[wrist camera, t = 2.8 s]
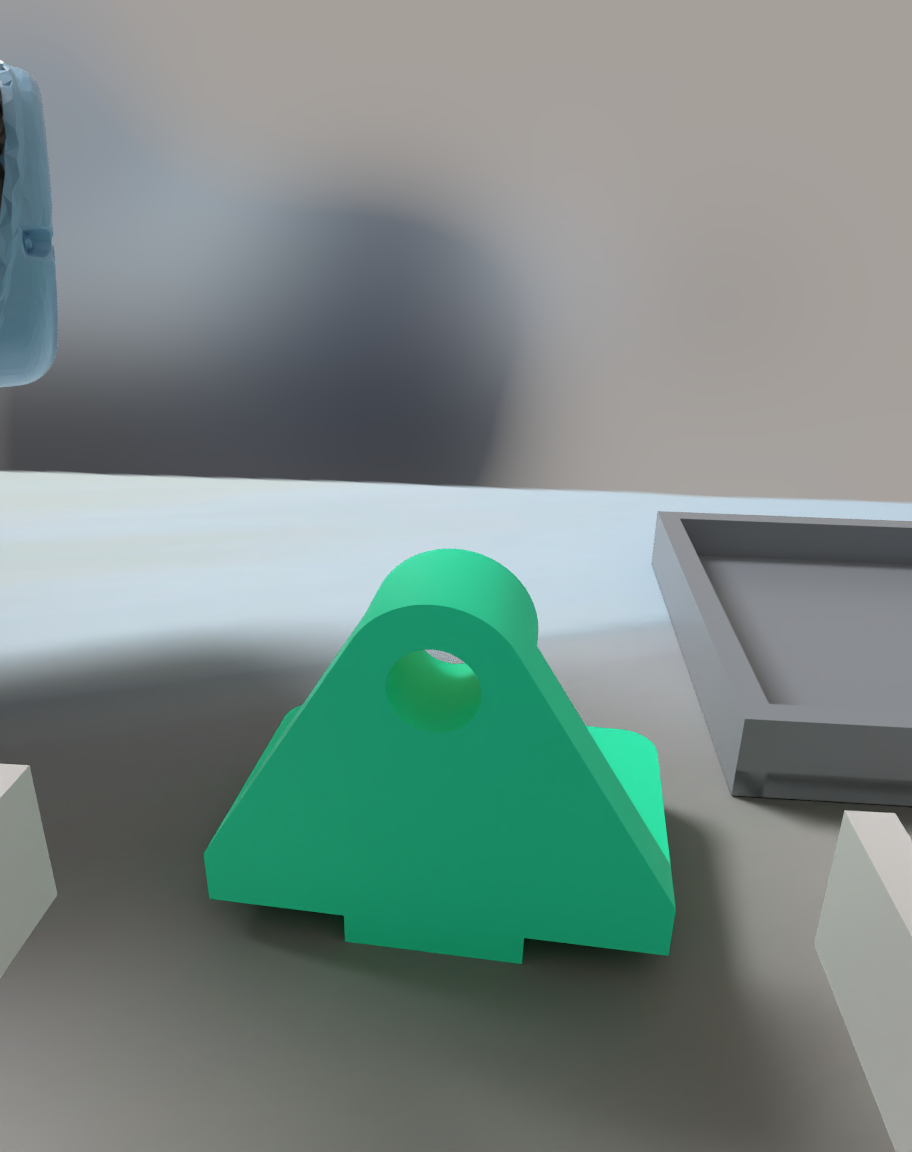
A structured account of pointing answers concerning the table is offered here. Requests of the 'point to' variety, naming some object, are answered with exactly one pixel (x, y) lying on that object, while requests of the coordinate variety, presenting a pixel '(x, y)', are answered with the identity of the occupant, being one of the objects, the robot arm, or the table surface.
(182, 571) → the table surface
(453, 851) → the green mounting bracket
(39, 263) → the robot arm
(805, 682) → the tray
